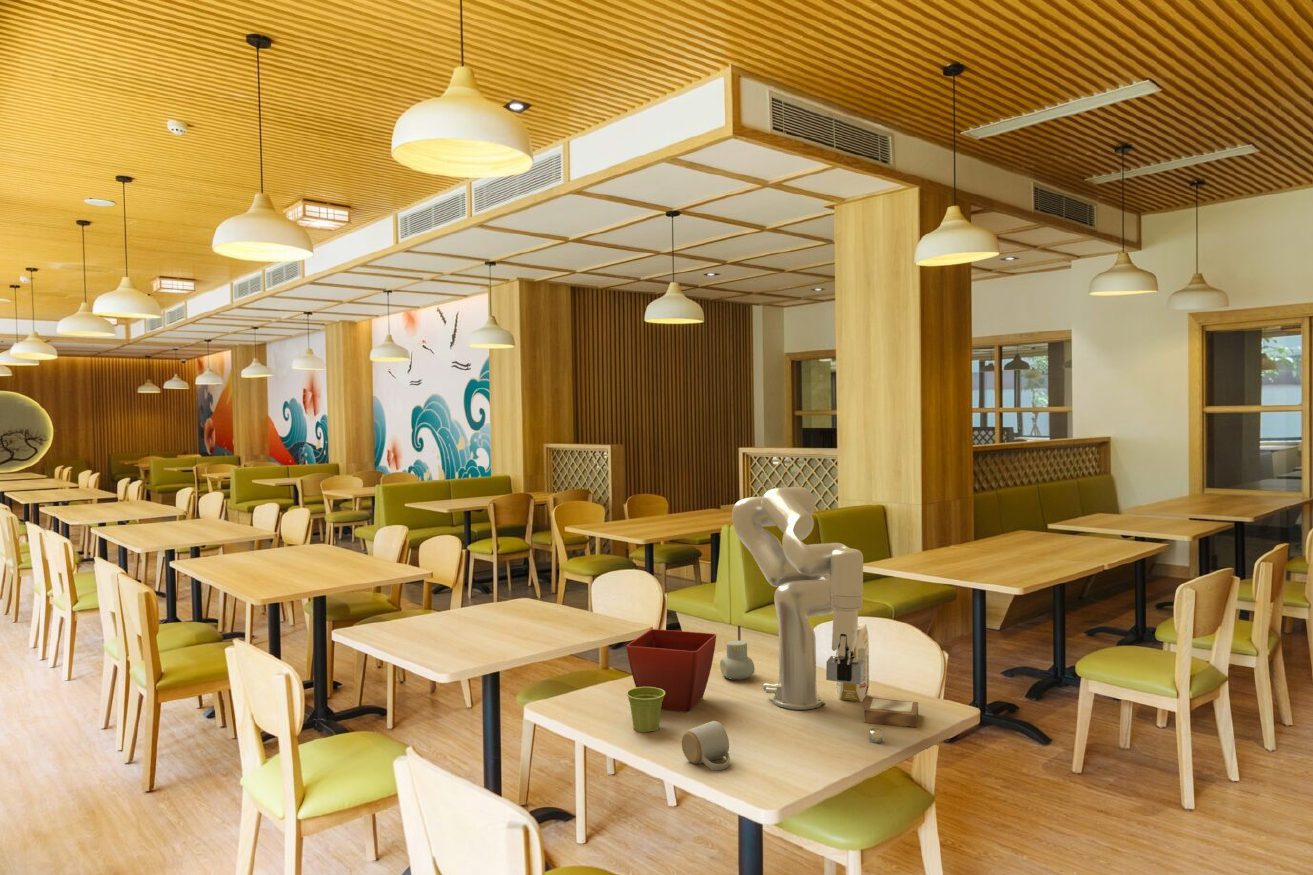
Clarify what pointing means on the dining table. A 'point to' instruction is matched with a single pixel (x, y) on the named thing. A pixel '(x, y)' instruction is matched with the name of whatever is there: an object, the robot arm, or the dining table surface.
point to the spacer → (876, 736)
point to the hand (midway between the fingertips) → (845, 675)
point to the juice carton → (862, 653)
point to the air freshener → (737, 661)
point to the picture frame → (891, 712)
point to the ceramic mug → (706, 745)
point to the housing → (856, 670)
